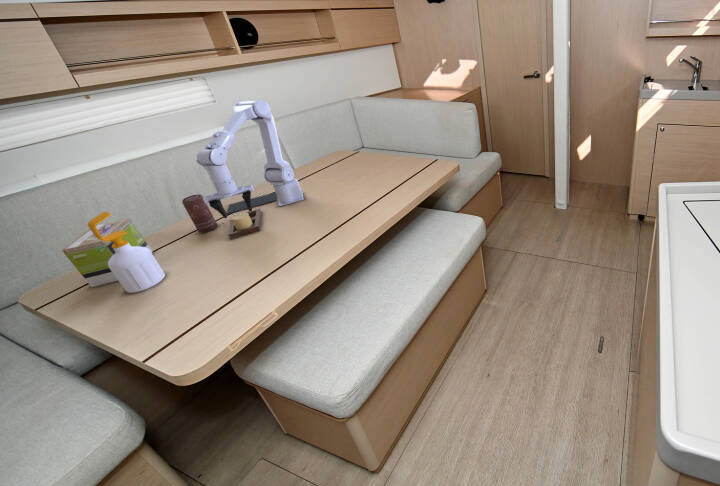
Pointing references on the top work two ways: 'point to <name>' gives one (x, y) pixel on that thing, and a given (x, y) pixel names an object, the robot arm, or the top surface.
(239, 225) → the yellow wooden cylinder
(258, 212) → the holder
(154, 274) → the soap bottle
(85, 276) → the tea box
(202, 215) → the can
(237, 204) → the mat
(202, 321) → the top surface
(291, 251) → the top surface
